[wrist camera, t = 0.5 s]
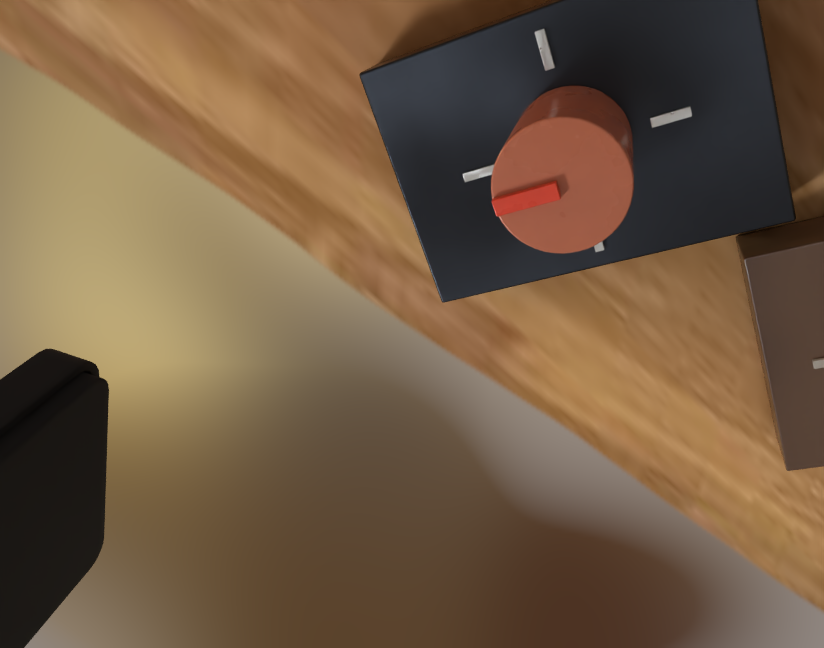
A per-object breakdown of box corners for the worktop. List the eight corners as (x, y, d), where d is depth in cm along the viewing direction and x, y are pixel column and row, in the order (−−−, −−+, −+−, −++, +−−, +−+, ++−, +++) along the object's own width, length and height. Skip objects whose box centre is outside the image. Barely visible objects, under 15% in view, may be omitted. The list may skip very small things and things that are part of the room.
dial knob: (616, 68, 27) (613, 99, 22) (645, 185, 29) (648, 238, 24) (498, 106, 29) (470, 143, 24) (531, 215, 30) (512, 271, 25)
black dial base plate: (736, -68, 27) (747, -68, 24) (784, 200, 30) (797, 222, 28) (376, 64, 32) (356, 74, 29) (453, 281, 35) (441, 305, 33)
